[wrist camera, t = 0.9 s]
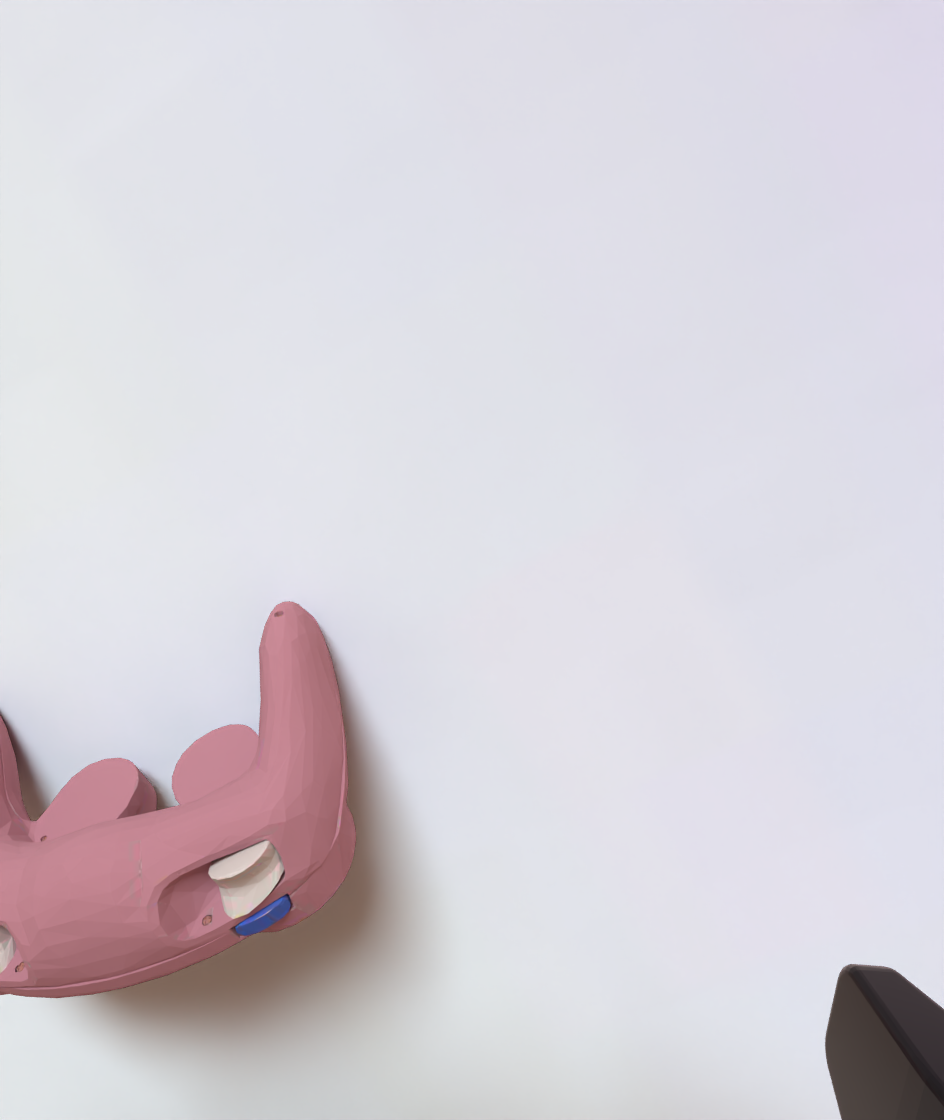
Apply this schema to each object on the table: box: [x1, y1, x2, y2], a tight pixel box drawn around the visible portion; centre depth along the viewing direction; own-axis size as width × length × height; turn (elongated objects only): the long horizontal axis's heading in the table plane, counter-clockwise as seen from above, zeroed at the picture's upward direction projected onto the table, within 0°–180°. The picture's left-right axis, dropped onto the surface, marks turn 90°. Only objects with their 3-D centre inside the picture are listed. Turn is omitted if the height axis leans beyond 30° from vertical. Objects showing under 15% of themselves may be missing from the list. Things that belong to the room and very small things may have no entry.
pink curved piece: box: [0, 601, 356, 998], centre depth 19 cm, size 10×5×7 cm, turn 107°
